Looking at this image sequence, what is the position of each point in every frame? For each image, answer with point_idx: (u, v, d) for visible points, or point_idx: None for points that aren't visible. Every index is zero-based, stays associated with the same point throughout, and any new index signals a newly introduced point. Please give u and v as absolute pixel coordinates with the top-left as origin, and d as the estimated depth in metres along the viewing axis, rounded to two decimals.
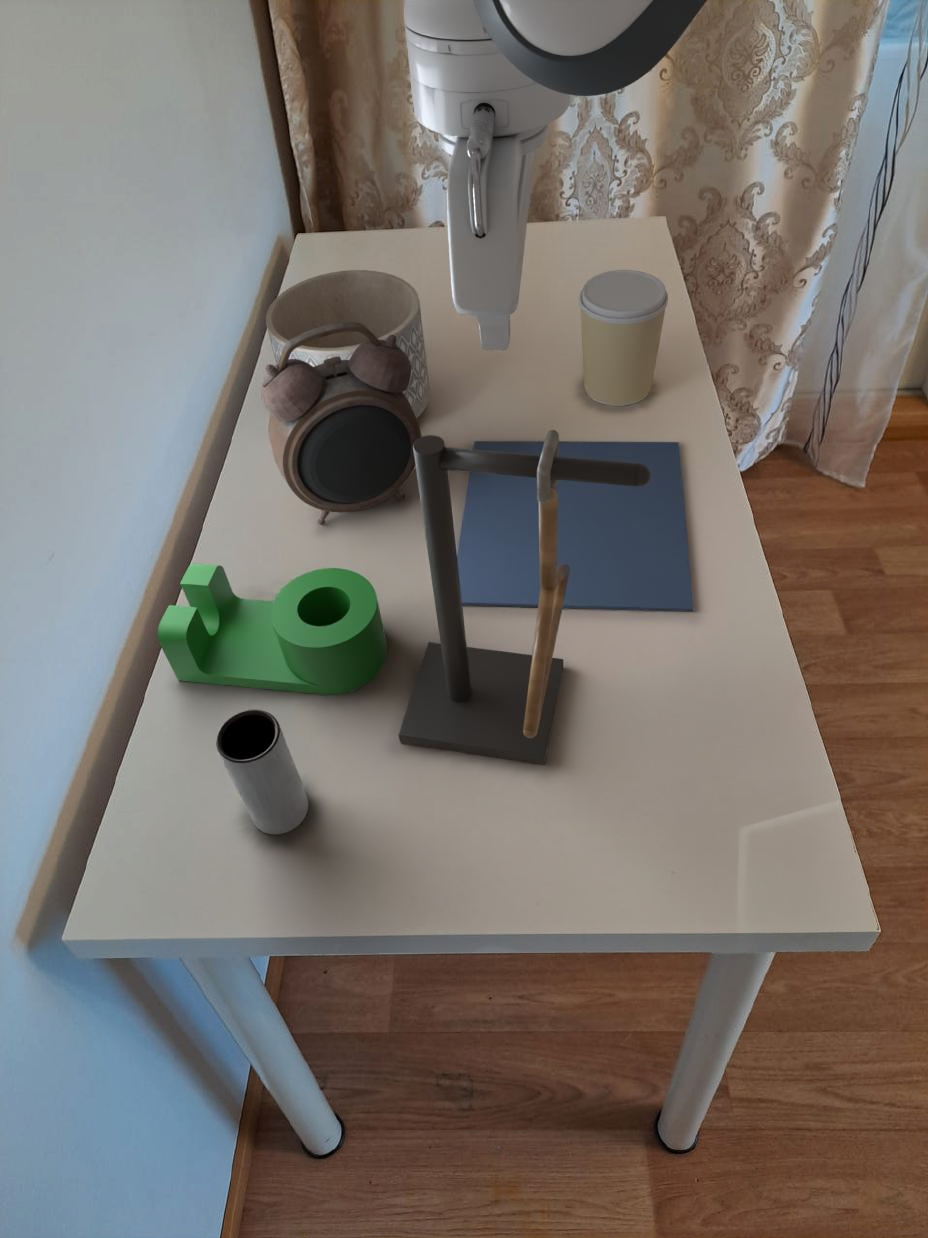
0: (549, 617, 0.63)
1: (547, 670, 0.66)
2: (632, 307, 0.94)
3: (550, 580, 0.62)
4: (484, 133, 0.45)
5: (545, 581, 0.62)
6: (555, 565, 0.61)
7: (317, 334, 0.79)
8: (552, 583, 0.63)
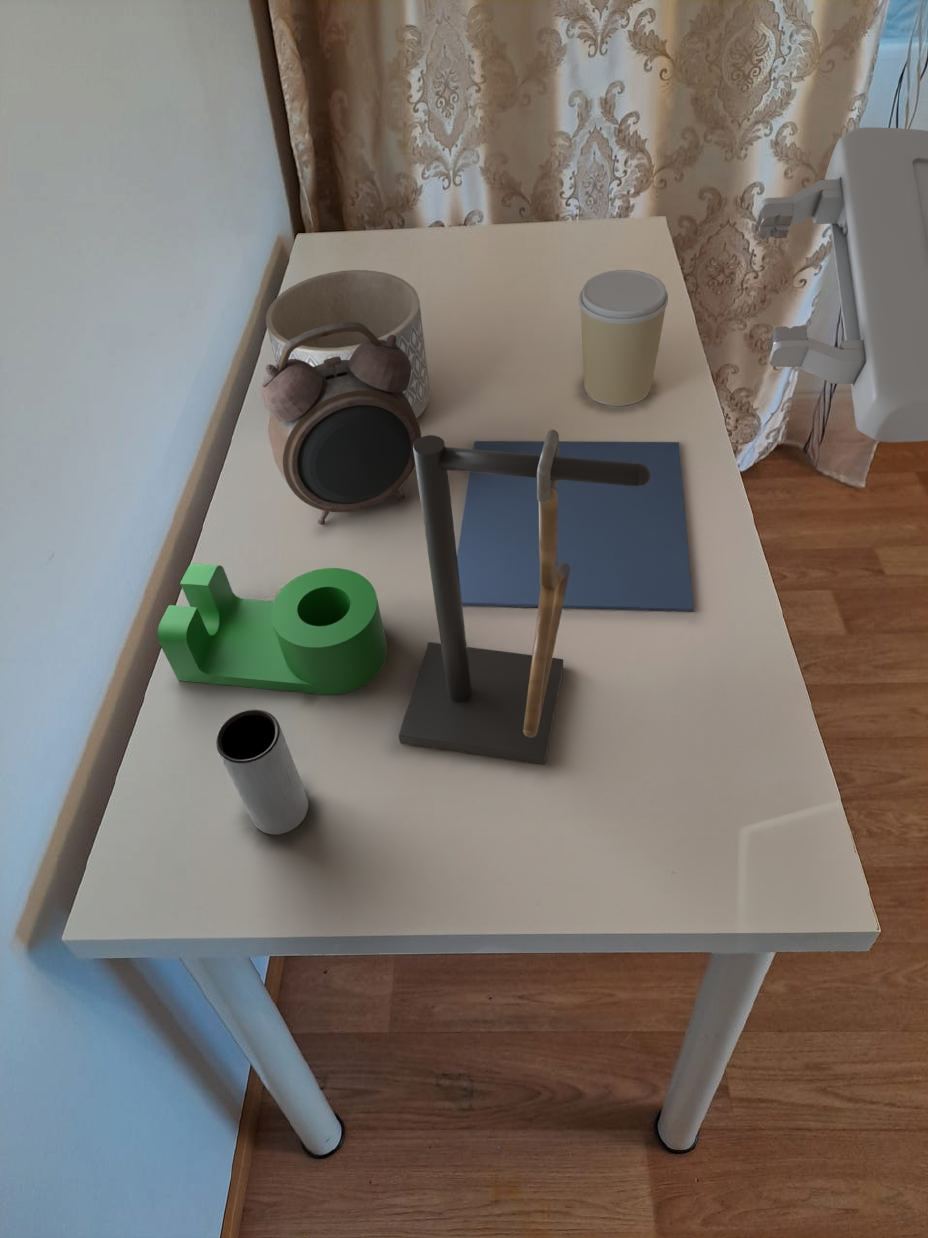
0: (549, 617, 0.63)
1: (547, 669, 0.66)
2: (633, 307, 0.94)
3: (550, 580, 0.62)
4: None
5: (545, 581, 0.62)
6: (555, 565, 0.61)
7: (317, 334, 0.79)
8: (552, 583, 0.63)
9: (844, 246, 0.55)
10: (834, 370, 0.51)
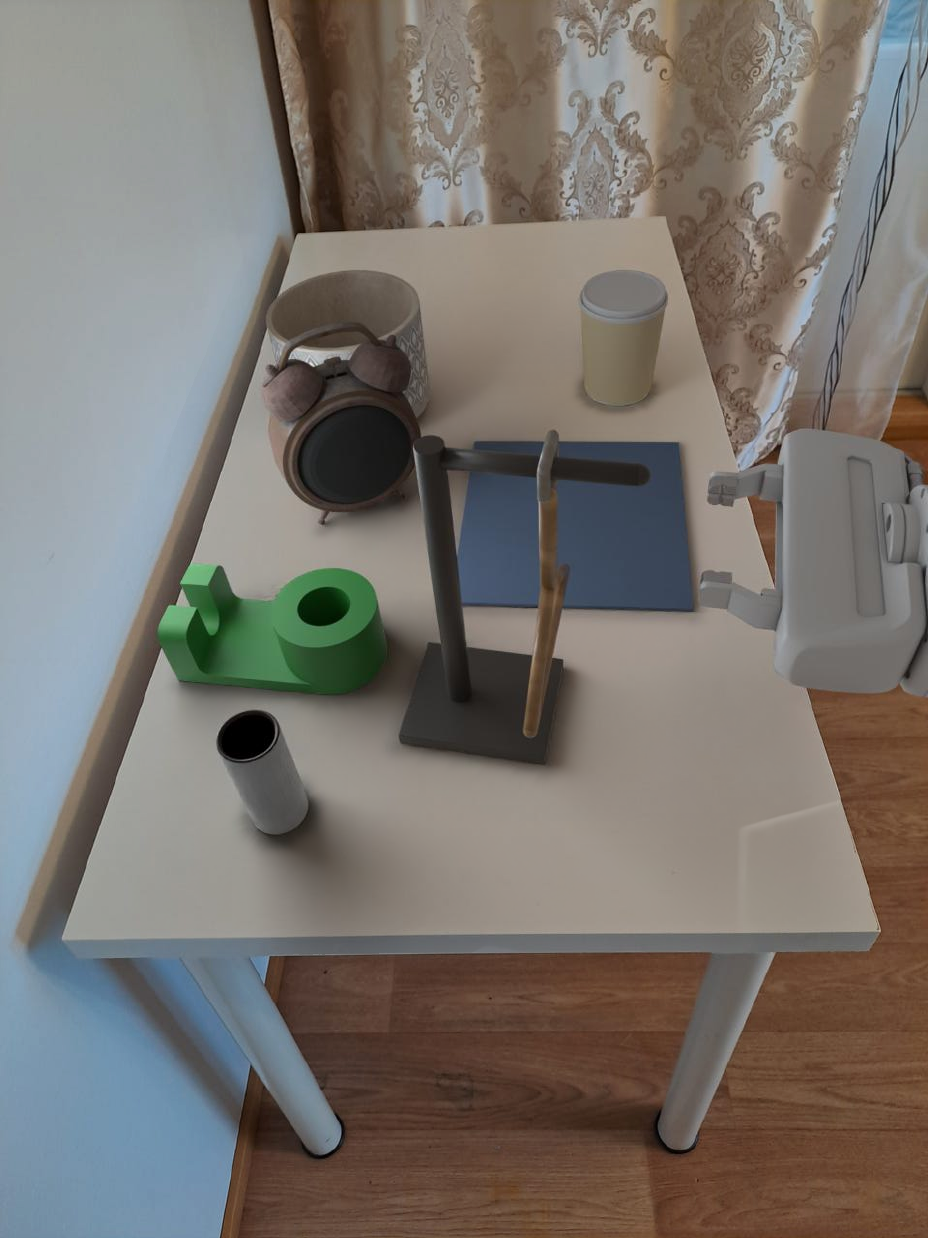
0: (549, 617, 0.63)
1: (547, 670, 0.66)
2: (632, 307, 0.94)
3: (550, 580, 0.62)
4: (922, 472, 0.60)
5: (545, 581, 0.62)
6: (555, 565, 0.61)
7: (317, 334, 0.79)
8: (552, 583, 0.63)
9: None
10: (755, 614, 0.53)
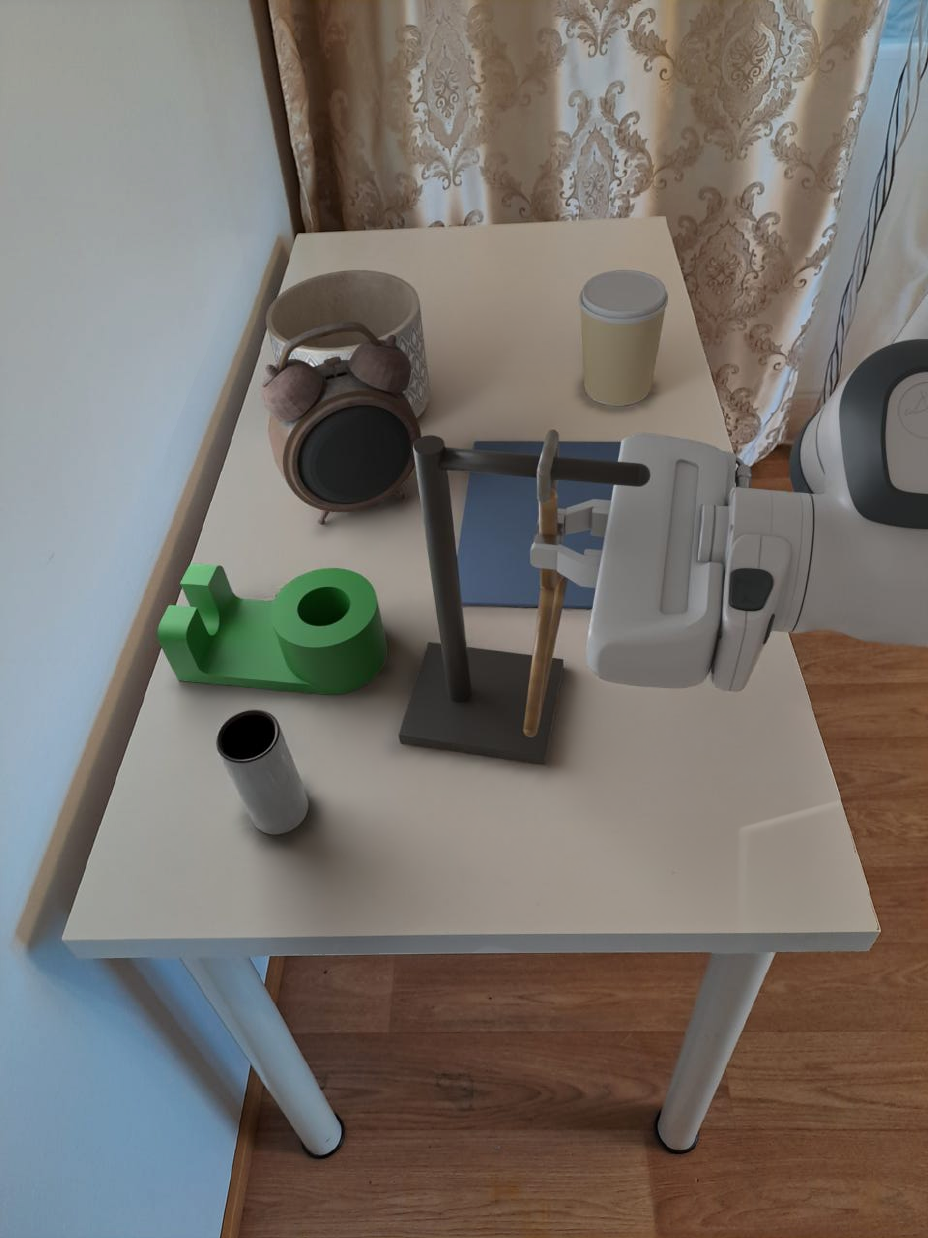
0: (549, 616, 0.63)
1: (547, 669, 0.66)
2: (632, 307, 0.94)
3: (550, 579, 0.62)
4: (750, 475, 0.62)
5: (545, 580, 0.62)
6: None
7: (317, 334, 0.79)
8: (552, 582, 0.63)
9: None
10: (578, 573, 0.58)
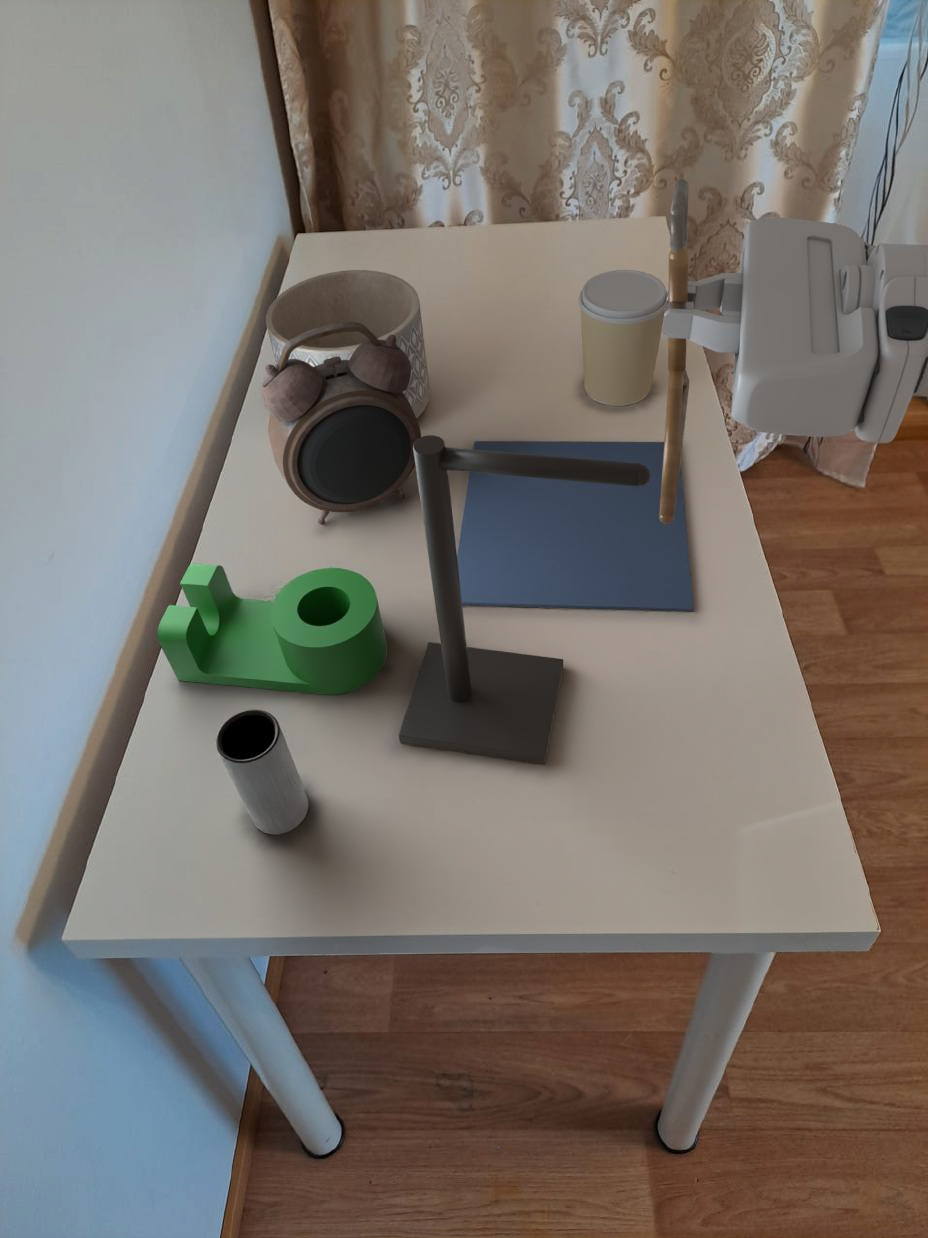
0: (680, 399, 0.62)
1: (678, 464, 0.65)
2: (633, 307, 0.94)
3: (680, 359, 0.61)
4: None
5: (674, 360, 0.61)
6: (685, 340, 0.60)
7: (317, 334, 0.79)
8: (681, 363, 0.61)
9: None
10: (715, 335, 0.56)
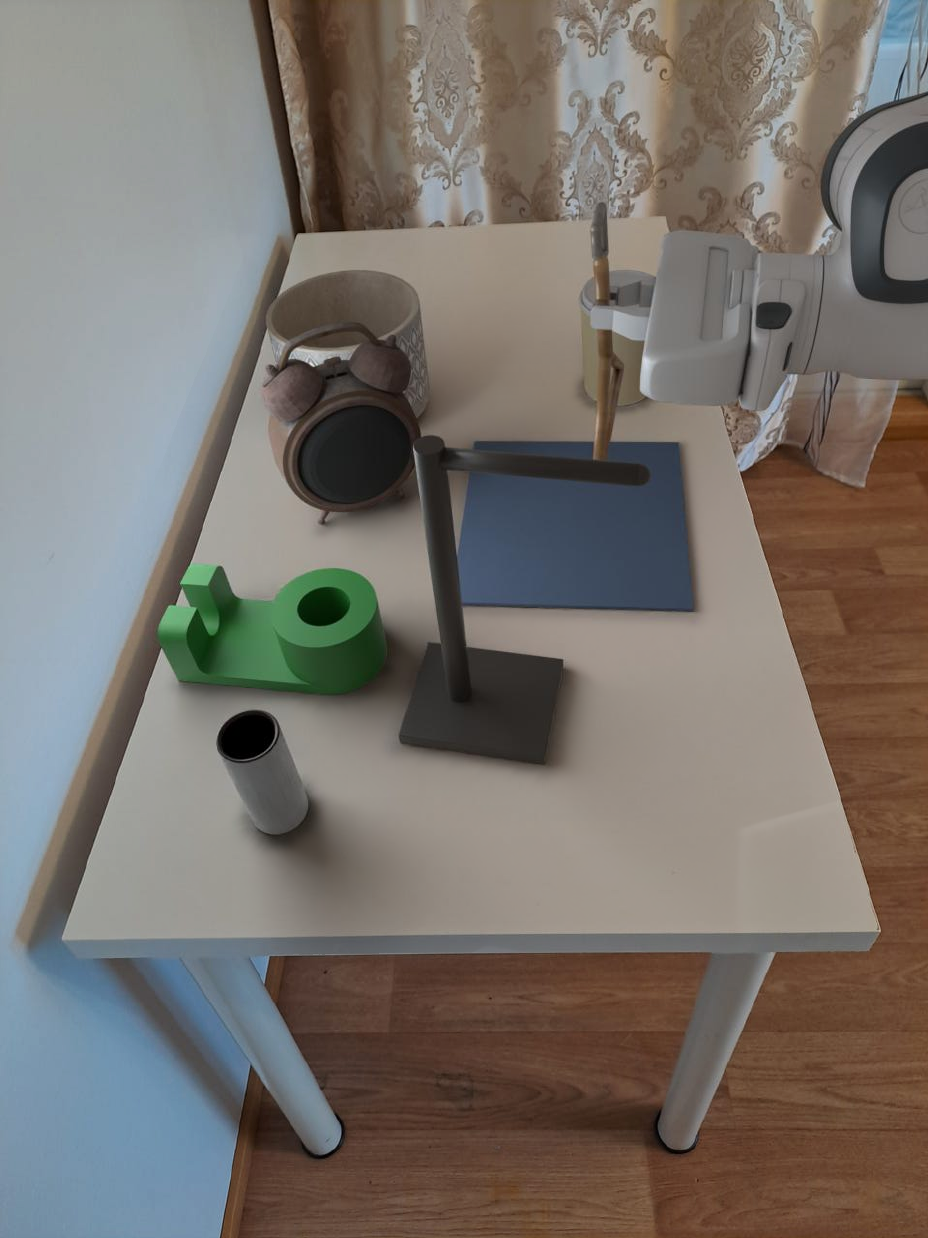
0: (608, 378, 0.76)
1: (609, 432, 0.79)
2: (633, 307, 0.94)
3: (607, 346, 0.75)
4: None
5: (603, 347, 0.75)
6: (610, 330, 0.74)
7: (317, 334, 0.79)
8: (609, 349, 0.75)
9: None
10: (631, 326, 0.71)
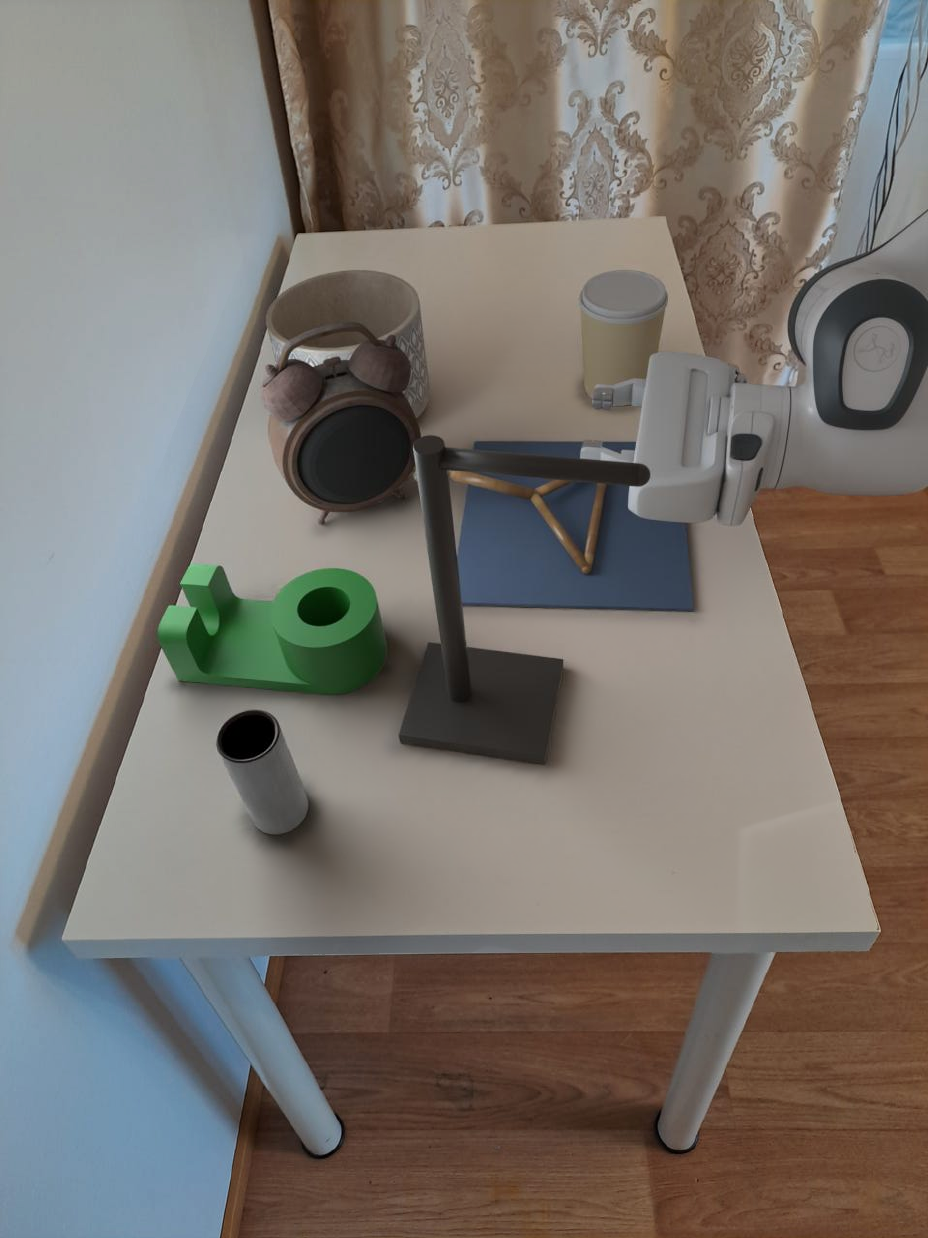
0: (543, 508, 0.88)
1: (591, 527, 0.88)
2: (632, 307, 0.94)
3: (523, 494, 0.89)
4: (746, 380, 0.84)
5: (523, 497, 0.89)
6: (512, 487, 0.89)
7: (317, 334, 0.79)
8: (527, 493, 0.89)
9: None
10: None
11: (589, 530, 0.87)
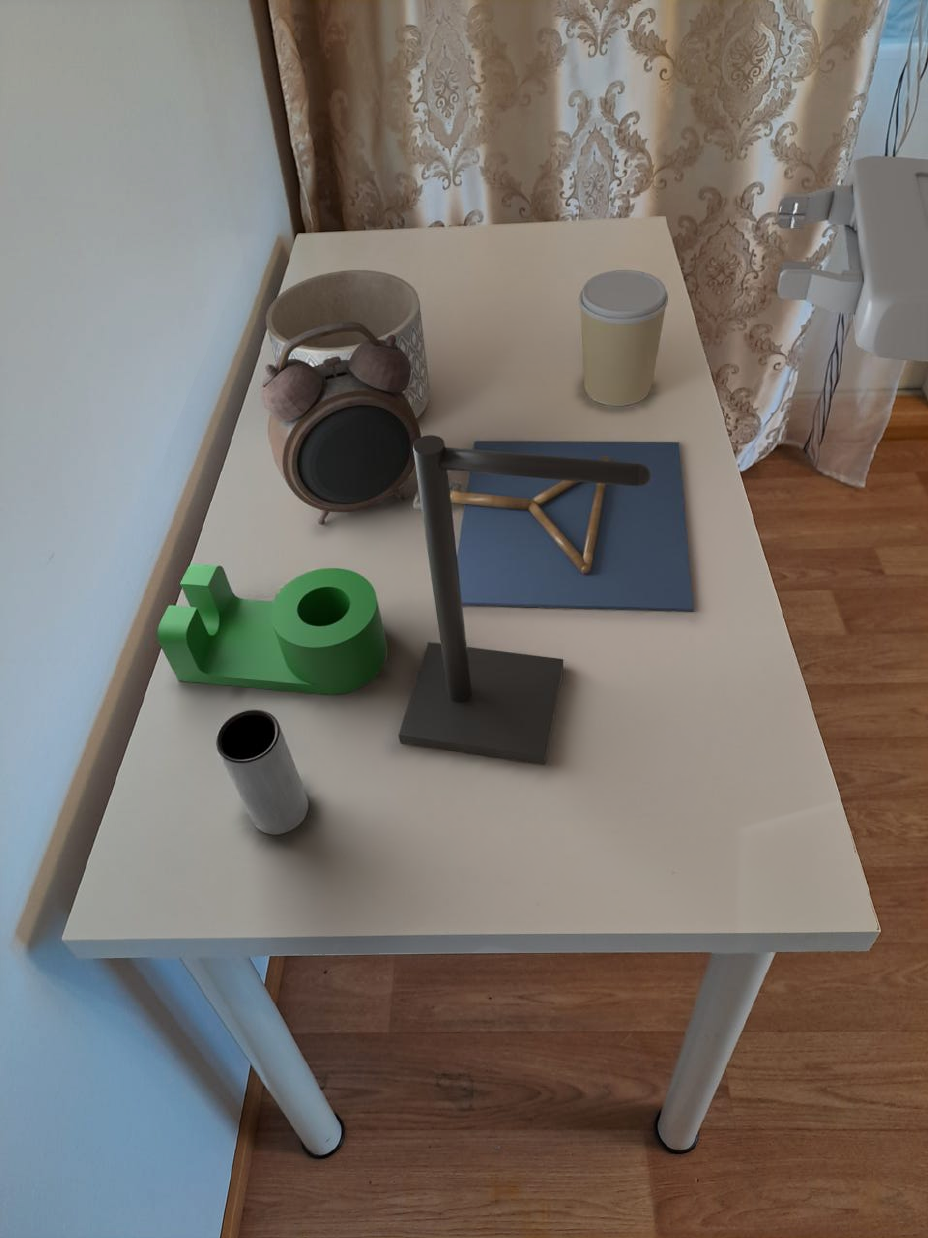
0: (540, 516, 0.89)
1: (589, 527, 0.88)
2: (632, 307, 0.94)
3: (520, 505, 0.90)
4: None
5: (521, 508, 0.91)
6: (508, 500, 0.91)
7: (317, 334, 0.79)
8: (524, 504, 0.90)
9: (854, 238, 0.62)
10: (836, 295, 0.55)
11: (587, 530, 0.87)
